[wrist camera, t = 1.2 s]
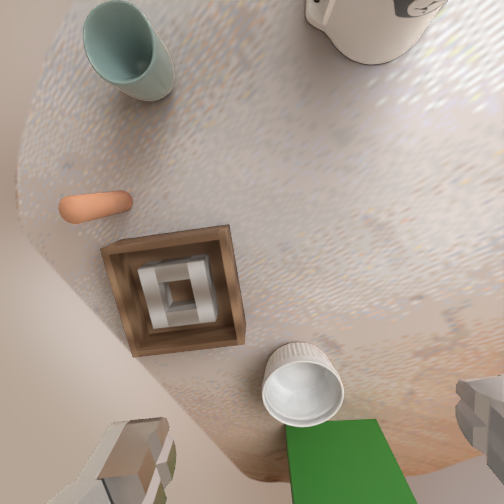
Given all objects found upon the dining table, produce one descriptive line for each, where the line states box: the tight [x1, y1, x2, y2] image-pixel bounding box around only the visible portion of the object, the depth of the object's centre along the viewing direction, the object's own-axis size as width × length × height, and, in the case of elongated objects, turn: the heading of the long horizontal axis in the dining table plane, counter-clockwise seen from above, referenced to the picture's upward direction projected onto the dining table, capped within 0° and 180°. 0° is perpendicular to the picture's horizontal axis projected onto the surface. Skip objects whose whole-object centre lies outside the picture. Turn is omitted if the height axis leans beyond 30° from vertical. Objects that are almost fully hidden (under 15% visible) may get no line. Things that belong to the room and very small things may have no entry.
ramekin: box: [262, 342, 344, 427], centre depth 47 cm, size 13×13×7 cm
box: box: [100, 224, 246, 357], centre depth 43 cm, size 18×18×6 cm
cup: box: [83, 0, 175, 101], centre depth 33 cm, size 8×8×10 cm
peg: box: [59, 191, 133, 224], centre depth 37 cm, size 3×3×12 cm
